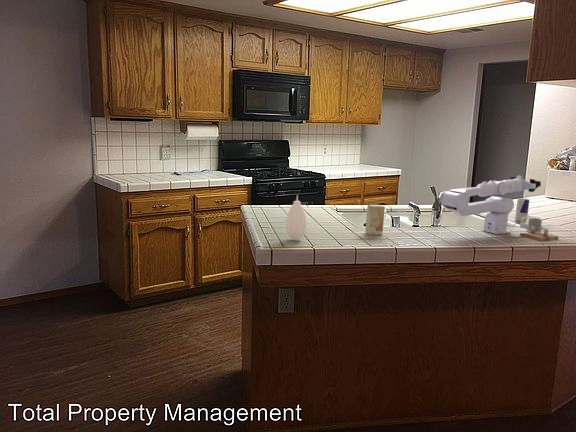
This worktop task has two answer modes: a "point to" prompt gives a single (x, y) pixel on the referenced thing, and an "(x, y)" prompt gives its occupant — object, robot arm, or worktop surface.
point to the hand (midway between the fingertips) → (532, 182)
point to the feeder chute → (526, 221)
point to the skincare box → (375, 219)
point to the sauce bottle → (296, 221)
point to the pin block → (538, 235)
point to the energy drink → (521, 209)
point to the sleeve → (534, 224)
